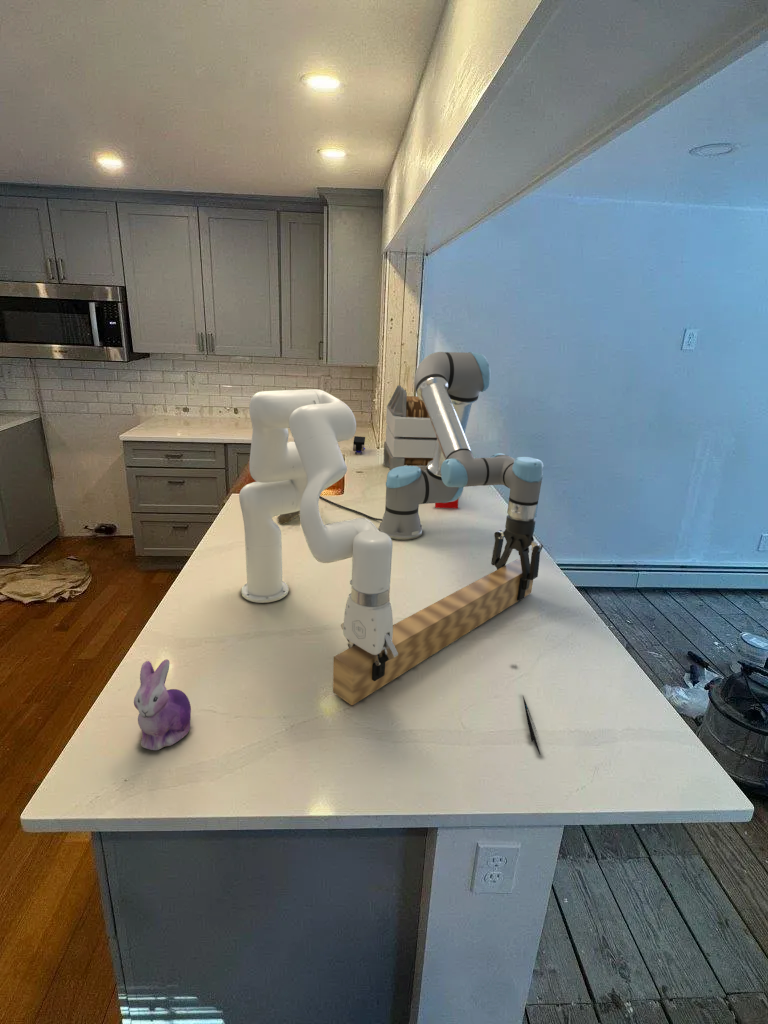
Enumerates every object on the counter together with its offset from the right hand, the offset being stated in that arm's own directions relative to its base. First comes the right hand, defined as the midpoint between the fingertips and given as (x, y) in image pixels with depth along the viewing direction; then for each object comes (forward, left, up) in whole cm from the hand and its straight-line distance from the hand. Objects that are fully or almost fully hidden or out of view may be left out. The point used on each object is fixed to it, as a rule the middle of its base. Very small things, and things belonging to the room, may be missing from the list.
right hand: (510, 594), depth 157 cm
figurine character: (-155, +69, -2) cm, 169 cm away
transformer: (-107, +68, -2) cm, 126 cm away
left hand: (+6, -56, +3) cm, 56 cm away
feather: (+30, -34, -2) cm, 46 cm away
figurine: (-6, -93, -2) cm, 94 cm away
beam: (+3, -28, -1) cm, 28 cm away
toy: (-74, +50, -2) cm, 89 cm away
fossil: (-90, -12, -2) cm, 91 cm away
